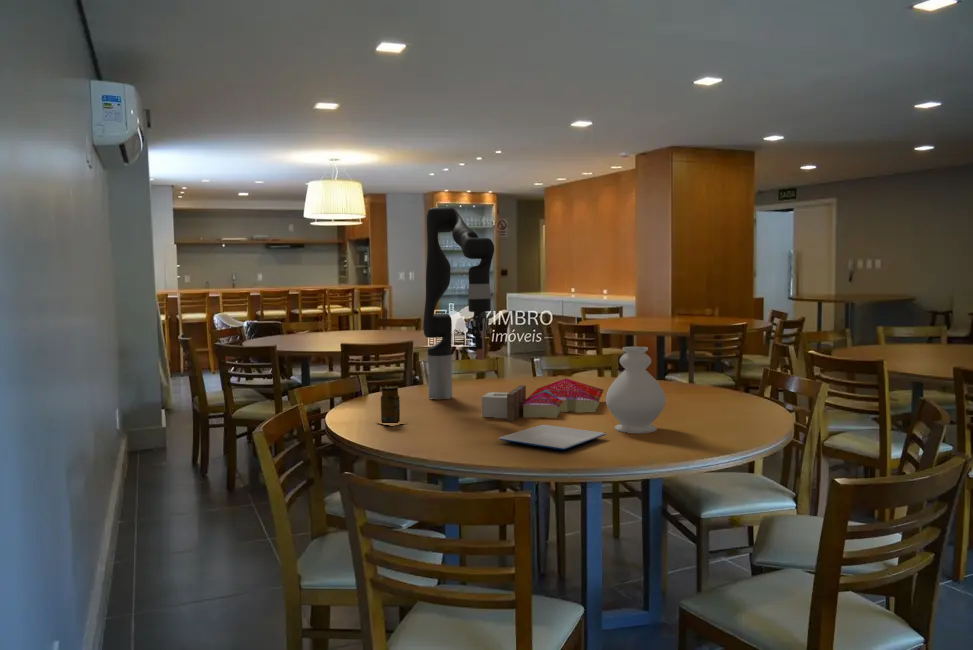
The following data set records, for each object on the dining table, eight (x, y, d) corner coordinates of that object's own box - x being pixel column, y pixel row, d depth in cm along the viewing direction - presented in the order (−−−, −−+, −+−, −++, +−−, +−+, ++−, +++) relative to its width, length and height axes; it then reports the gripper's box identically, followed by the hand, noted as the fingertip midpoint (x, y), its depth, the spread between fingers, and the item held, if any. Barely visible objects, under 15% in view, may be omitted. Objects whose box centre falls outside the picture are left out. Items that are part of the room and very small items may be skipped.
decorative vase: (594, 429, 225) (593, 348, 223) (631, 421, 236) (630, 343, 234) (640, 438, 211) (640, 351, 209) (677, 429, 222) (677, 347, 221)
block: (489, 412, 256) (489, 392, 256) (517, 412, 254) (517, 392, 253) (482, 417, 246) (481, 396, 246) (510, 418, 244) (510, 397, 243)
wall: (520, 410, 258) (520, 385, 258) (526, 410, 258) (525, 385, 257) (507, 421, 239) (506, 394, 238) (513, 421, 239) (512, 394, 238)
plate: (542, 430, 225) (542, 424, 225) (606, 439, 211) (606, 432, 210) (497, 444, 207) (497, 437, 207) (564, 455, 193) (564, 447, 193)
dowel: (478, 358, 249) (477, 323, 248) (485, 358, 248) (484, 323, 247) (475, 359, 246) (475, 323, 245) (483, 359, 245) (482, 323, 245)
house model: (595, 420, 239) (595, 389, 239) (519, 418, 245) (518, 388, 245) (604, 401, 276) (603, 374, 276) (537, 399, 282) (537, 373, 281)
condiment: (394, 420, 245) (393, 385, 244) (408, 424, 238) (407, 387, 237) (375, 423, 240) (374, 387, 239) (389, 427, 233) (387, 390, 233)
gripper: (484, 298, 238) (485, 350, 239) (495, 296, 251) (496, 346, 252) (462, 298, 240) (463, 350, 241) (475, 297, 253) (476, 346, 255)
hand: (480, 348), depth 247 cm, fingers closed on dowel, 2 cm apart
